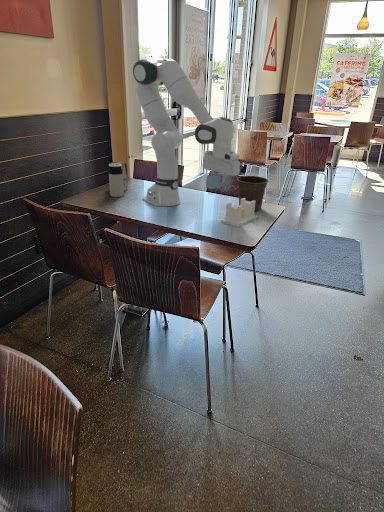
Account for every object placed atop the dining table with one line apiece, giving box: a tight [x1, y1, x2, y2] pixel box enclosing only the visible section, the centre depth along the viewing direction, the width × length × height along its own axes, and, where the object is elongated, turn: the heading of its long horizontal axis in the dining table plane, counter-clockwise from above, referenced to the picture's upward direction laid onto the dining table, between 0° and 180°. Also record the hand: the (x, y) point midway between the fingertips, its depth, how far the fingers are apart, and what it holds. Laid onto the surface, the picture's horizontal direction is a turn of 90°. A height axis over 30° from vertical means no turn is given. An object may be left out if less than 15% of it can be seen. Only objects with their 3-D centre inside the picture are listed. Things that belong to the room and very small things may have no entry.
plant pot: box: [236, 175, 269, 212], centre depth 188 cm, size 16×16×16 cm
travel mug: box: [107, 163, 125, 198], centre depth 201 cm, size 8×8×18 cm
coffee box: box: [110, 161, 129, 191], centre depth 214 cm, size 9×6×16 cm
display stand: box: [220, 198, 259, 228], centre depth 171 cm, size 10×18×9 cm, turn 139°
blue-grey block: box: [205, 172, 232, 190], centre depth 174 cm, size 4×16×6 cm, turn 139°
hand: (218, 181), depth 174 cm, fingers closed on blue-grey block, 3 cm apart
